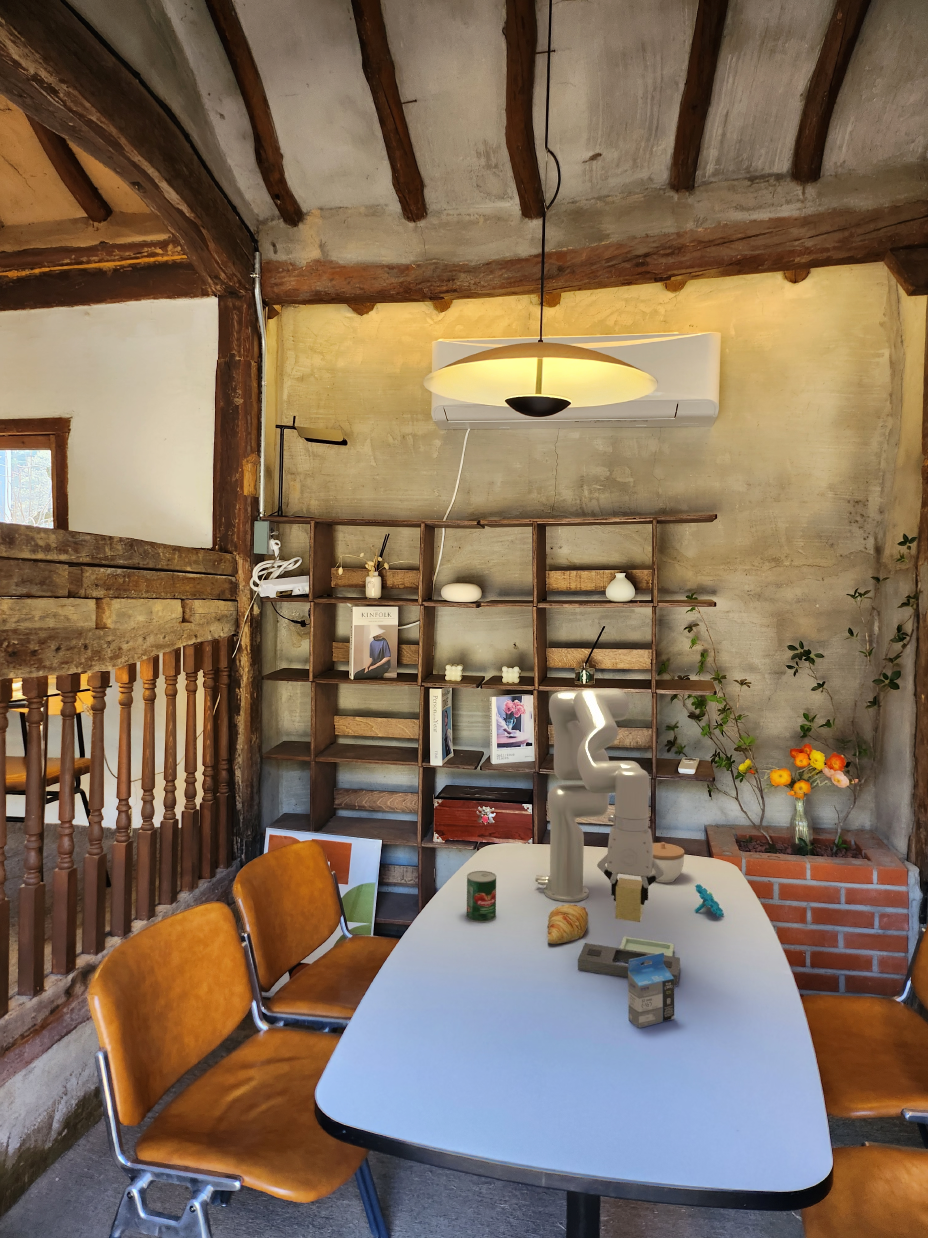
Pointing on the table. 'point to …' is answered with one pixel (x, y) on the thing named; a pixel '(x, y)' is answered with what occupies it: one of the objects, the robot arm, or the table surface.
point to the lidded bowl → (668, 861)
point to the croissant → (566, 923)
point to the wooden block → (628, 900)
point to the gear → (708, 901)
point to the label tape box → (650, 991)
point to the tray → (647, 946)
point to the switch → (605, 957)
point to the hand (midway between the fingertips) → (629, 900)
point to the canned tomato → (481, 896)
